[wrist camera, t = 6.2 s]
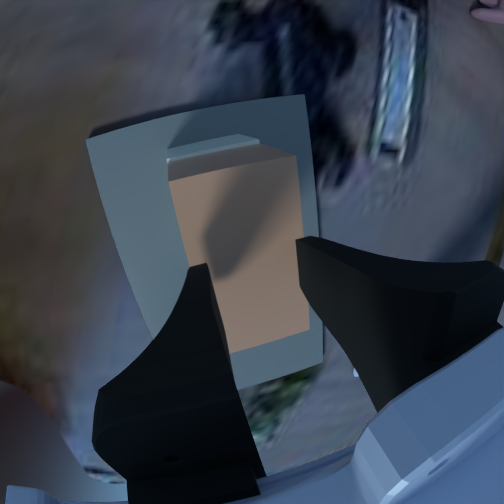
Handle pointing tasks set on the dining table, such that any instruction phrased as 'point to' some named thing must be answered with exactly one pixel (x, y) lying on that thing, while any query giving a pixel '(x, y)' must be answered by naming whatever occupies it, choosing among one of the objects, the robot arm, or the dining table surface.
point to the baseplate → (165, 220)
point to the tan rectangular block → (245, 237)
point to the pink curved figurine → (490, 11)
